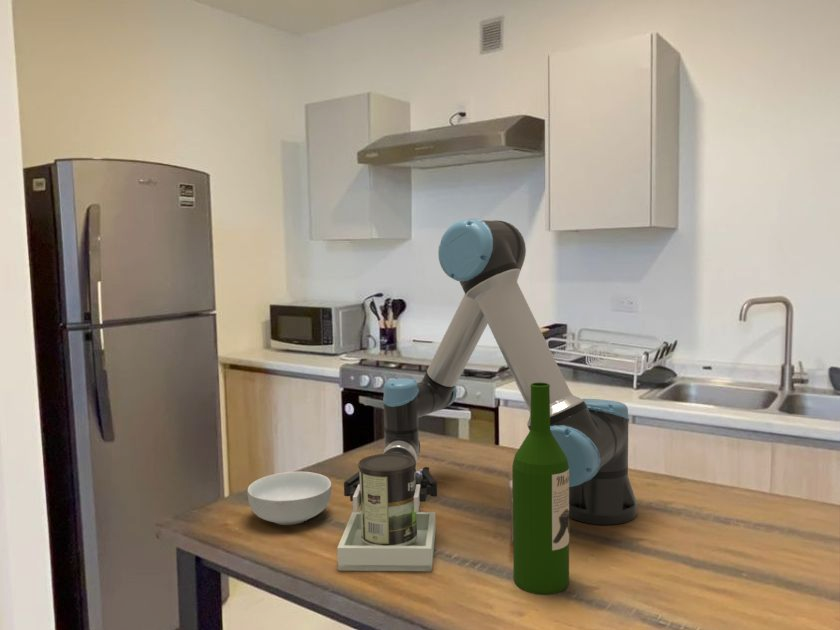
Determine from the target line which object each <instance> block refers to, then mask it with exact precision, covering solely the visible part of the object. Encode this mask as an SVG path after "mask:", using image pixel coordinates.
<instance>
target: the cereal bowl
mask: <svg viewBox="0 0 840 630" xmlns="http://www.w3.org/2000/svg"><path fill="white" fill-rule="evenodd" d="M246 493H247V500H248V505H249V507H250V510H251V511H252V512H253V513H254V514H255V515H256V516H257V517H258V518H259V519H262V520H264V521H267V522H271V523H274V524H277V525H281V526H291V525H298V524H302V523H304V521H305V522H307V521H308V520H310V519H312V518H315V517H316V516H317V515H319V514H320V513H322V512H323V511H324V510H325V509H326V508H327V506H328V505H329V503H330V501H331V500H330V499H331V496H332V481H331V479H329V477H327V476H325V475H324V474H320V473H316V472H311V471H288V472H287V471H285V472H279V473H274V474H269V475H266V476H263V477H261V478H258V479H256V480H255V481H252V482H251V484H249V486H248V487H247V491H246Z"/></svg>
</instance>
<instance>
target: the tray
mask: <svg viewBox="0 0 840 630" xmlns="http://www.w3.org/2000/svg"><path fill="white" fill-rule="evenodd" d="M351 512H352V513H351V514H350V517H349V519H348V521H347V524H346V526H345V528H344V531H343V534H342V536H341V538H340V541H339V543H338V546H337V548H336V550H337V571H340V572H341V571H342V572H344V571H345V572H347V571H349V572H350V571H351V572H352V571H353V572H354V571H355V572H356V571H358V572H359V571H361V572H362V571H363V572H365V571H366V572H368V571H369V572H432V571H433V562H434V553H435V544H436V543H435V542H436V511H419V512H416V520H417V539H416V540H415V541H414V542H413V543H411V544H410V545H407V546H367V545H366V544H364V543H363V542H362V540H361V536H362V532H361V511H358V512H353V511H351Z"/></svg>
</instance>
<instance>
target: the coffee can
mask: <svg viewBox="0 0 840 630" xmlns="http://www.w3.org/2000/svg"><path fill="white" fill-rule="evenodd" d="M357 463H358V464H357V465H358V466H357V467H358V472H359V475H360V512H361V532H362V536H361V540H362V542H363V543H364V544H366V545H367V546H407V545H410V544H411V543H413V542H414V541H415V540H416V539H417V520H416V512H414V493H415V489H416V482H415V469H416V468H415V465H416V466H417V464H416V461H415V459H414V458H413V457H410V456H408V455H403V454H392V453H390V454H383V453H379V454H373V455H370V456H369V455H368V456H366V457H364V458H361V459H360V460H359V461H358V462H357Z"/></svg>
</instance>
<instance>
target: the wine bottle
mask: <svg viewBox="0 0 840 630" xmlns="http://www.w3.org/2000/svg"><path fill="white" fill-rule="evenodd" d="M549 387H550V385H549V384H547V383H532V384H531V425H530V430H529V431H528V434H527V435H526V436H525V438H524V440H523V441H522V443H521V445H520V446H519V448H518V449H517V451H515V454H514V457H513V463H512V544H513V545H512V548H513V550H512V551H513V552H512V554H513V555H512V556H513V559H512V560H513V561H512V562H513V567H512V568H513V580H514V583H515V584H516V586H518V587H519V588H520V589H521V590H523V591H526V592H529V593H533V594H537V595H553V594H558V593H560V592H563V591H564V590H565V589H567V587H568V585H569V583H570V517H569V465H568V461H567V457H566V455H565V453H564V452H563V450H562V449H561V447H560V446H559V444H558V442H557V441H556V439H555V438H554V436H553V435H552V432H551V430H550V392H549Z"/></svg>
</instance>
